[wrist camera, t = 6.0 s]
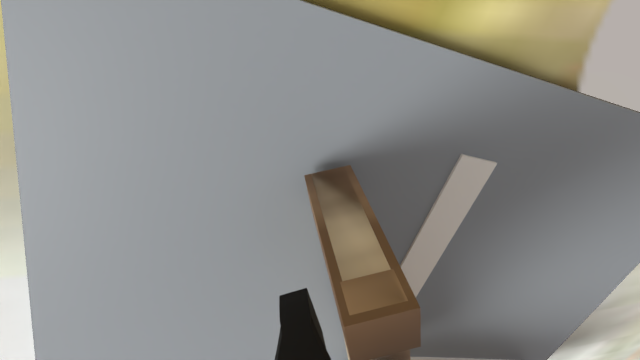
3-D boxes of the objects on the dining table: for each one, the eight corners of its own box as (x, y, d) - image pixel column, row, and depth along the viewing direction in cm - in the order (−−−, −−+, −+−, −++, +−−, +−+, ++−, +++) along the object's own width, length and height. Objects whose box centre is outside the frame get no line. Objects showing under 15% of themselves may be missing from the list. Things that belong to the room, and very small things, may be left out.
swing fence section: (375, 355, 16) (422, 501, 12) (344, 363, 16) (380, 513, 12) (350, 164, 11) (420, 307, 7) (304, 175, 11) (343, 327, 6)
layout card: (736, 144, 14) (751, 150, 14) (480, 418, 24) (485, 426, 23) (3, -100, 7) (-12, -103, 7) (47, 430, 16) (42, 443, 16)
